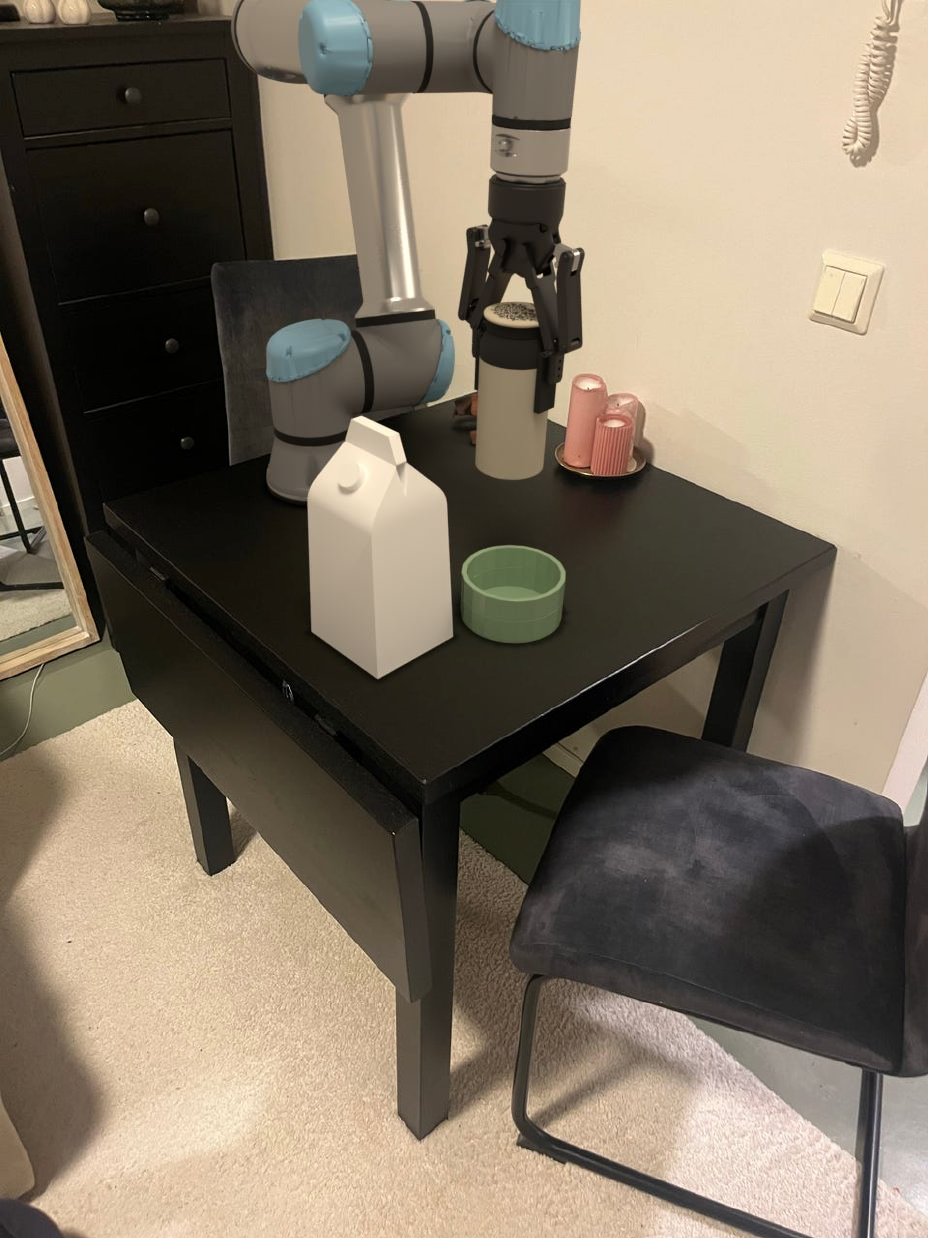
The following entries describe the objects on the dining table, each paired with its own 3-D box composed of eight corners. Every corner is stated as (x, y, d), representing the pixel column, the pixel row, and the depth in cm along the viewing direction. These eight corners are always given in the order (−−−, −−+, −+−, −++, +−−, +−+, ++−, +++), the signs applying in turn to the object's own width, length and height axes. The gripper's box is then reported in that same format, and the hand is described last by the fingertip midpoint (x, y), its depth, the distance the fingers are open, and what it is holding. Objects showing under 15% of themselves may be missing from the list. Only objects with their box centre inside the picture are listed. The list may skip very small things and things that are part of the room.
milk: (453, 636, 105) (457, 428, 90) (377, 679, 99) (368, 462, 84) (386, 594, 112) (379, 394, 97) (311, 631, 106) (292, 423, 90)
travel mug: (484, 485, 102) (492, 325, 91) (468, 454, 108) (473, 301, 97) (551, 479, 103) (566, 322, 93) (531, 449, 109) (544, 298, 99)
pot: (440, 613, 109) (440, 572, 106) (505, 575, 117) (507, 534, 113) (517, 656, 103) (520, 613, 99) (581, 612, 110) (586, 571, 107)
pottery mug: (455, 449, 148) (445, 399, 147) (463, 451, 158) (454, 404, 157) (526, 434, 147) (517, 383, 146) (530, 437, 156) (521, 389, 155)
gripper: (424, 163, 90) (423, 381, 104) (591, 198, 79) (567, 437, 93) (474, 155, 95) (467, 364, 108) (639, 187, 84) (609, 416, 97)
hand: (513, 398), depth 101 cm, fingers closed on travel mug, 8 cm apart
